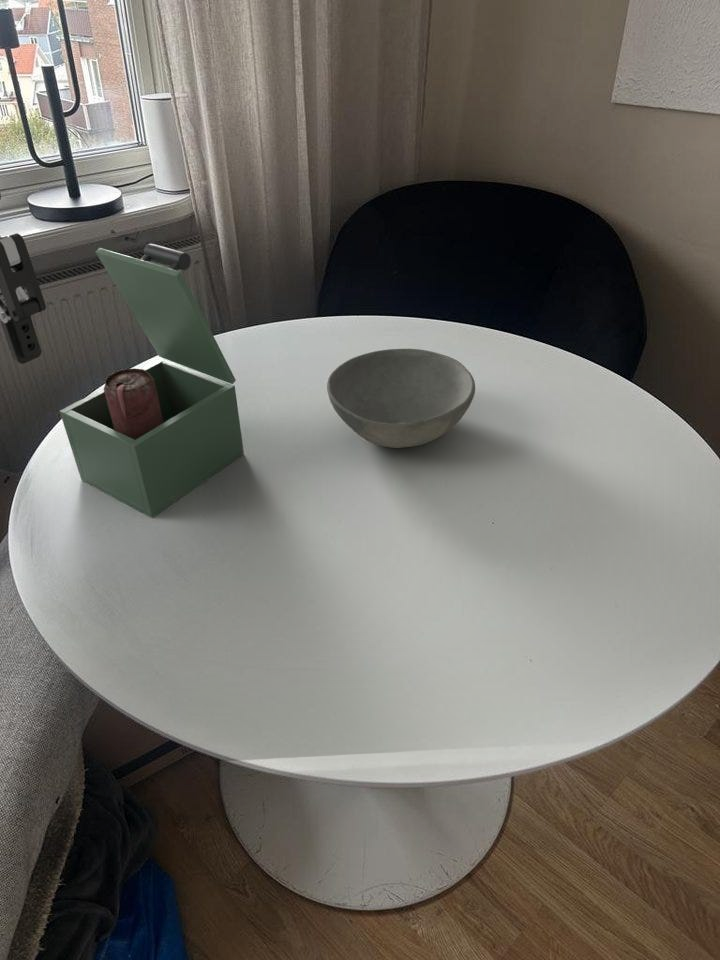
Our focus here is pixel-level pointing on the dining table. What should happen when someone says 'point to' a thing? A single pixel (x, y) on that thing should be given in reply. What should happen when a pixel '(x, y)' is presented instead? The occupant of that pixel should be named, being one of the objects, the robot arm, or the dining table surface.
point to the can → (133, 402)
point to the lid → (167, 308)
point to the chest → (158, 440)
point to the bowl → (401, 395)
